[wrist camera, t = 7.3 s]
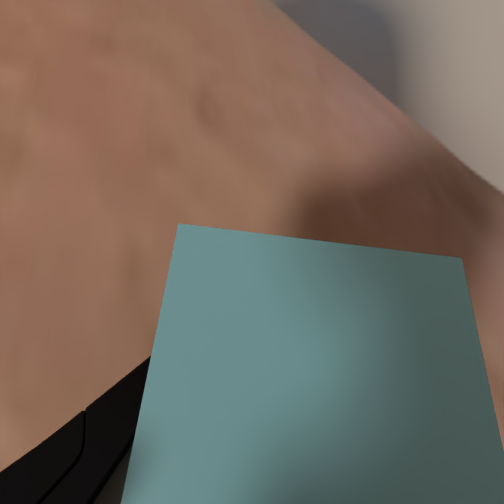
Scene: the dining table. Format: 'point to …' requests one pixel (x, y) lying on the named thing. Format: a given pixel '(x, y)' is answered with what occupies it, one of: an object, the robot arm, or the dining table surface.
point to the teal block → (314, 378)
